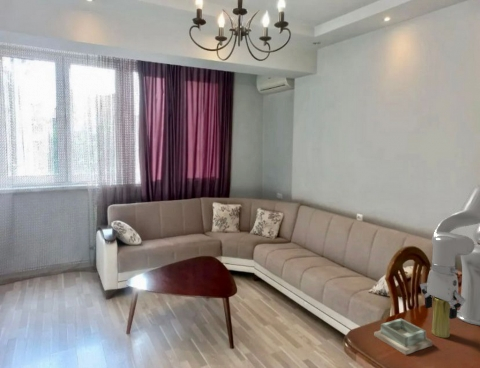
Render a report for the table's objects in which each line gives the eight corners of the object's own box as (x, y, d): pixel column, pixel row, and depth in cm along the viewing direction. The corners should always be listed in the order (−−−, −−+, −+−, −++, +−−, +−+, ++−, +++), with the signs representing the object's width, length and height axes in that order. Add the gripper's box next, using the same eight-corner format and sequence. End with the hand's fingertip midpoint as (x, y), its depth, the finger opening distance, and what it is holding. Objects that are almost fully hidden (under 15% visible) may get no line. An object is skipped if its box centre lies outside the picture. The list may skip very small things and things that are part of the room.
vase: (452, 338, 129) (454, 302, 128) (434, 337, 130) (436, 300, 129) (446, 330, 135) (447, 295, 134) (429, 329, 136) (430, 294, 135)
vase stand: (400, 327, 137) (400, 315, 137) (432, 345, 125) (433, 332, 124) (374, 335, 131) (374, 323, 131) (405, 354, 119) (406, 341, 118)
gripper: (472, 274, 124) (469, 320, 125) (428, 261, 140) (426, 302, 141) (459, 277, 121) (456, 324, 122) (415, 263, 137) (413, 305, 138)
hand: (440, 312), depth 132 cm, fingers open, 9 cm apart
